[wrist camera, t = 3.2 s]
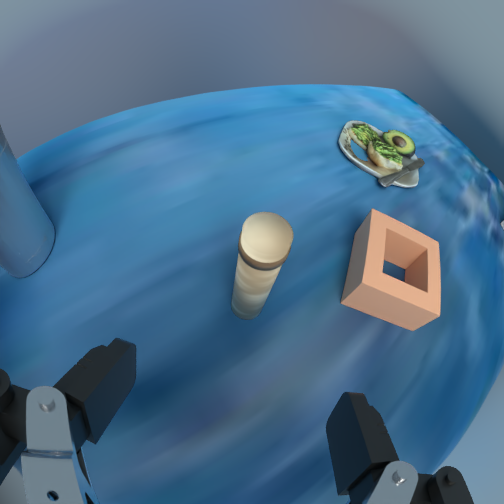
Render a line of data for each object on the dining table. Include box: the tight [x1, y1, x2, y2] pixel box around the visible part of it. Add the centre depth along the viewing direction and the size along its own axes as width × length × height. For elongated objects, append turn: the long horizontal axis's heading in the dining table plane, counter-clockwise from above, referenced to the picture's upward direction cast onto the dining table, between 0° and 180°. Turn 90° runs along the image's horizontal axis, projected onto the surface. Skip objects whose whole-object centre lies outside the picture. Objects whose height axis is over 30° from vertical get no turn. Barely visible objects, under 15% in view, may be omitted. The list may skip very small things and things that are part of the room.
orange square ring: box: [341, 209, 441, 331], centre depth 27 cm, size 10×10×5 cm
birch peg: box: [231, 212, 293, 320], centre depth 21 cm, size 3×3×12 cm
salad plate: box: [338, 121, 425, 188], centre depth 41 cm, size 19×18×5 cm
